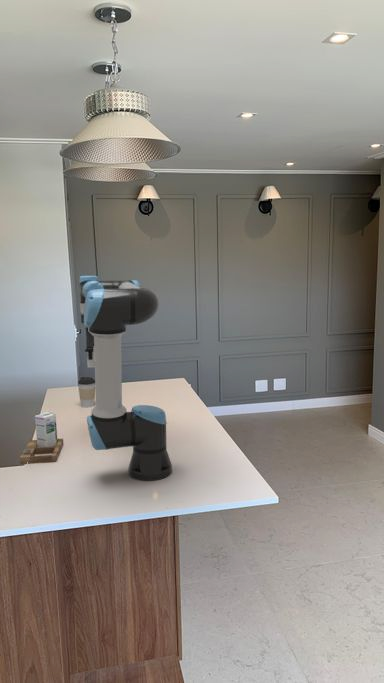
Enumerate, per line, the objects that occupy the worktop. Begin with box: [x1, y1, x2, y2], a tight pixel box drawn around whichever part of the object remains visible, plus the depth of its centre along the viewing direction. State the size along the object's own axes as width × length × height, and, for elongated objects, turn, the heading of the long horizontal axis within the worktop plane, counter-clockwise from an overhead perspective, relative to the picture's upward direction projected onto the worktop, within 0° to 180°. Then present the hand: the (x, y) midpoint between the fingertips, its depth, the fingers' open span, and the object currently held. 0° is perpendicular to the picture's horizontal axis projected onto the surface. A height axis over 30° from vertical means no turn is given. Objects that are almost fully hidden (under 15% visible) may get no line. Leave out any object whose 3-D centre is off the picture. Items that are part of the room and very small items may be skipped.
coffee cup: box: [77, 376, 96, 408], centre depth 258 cm, size 9×9×15 cm
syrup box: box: [34, 411, 58, 447], centre depth 195 cm, size 6×6×14 cm
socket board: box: [19, 438, 64, 465], centre depth 191 cm, size 19×13×3 cm
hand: (92, 364), depth 205 cm, fingers open, 13 cm apart
